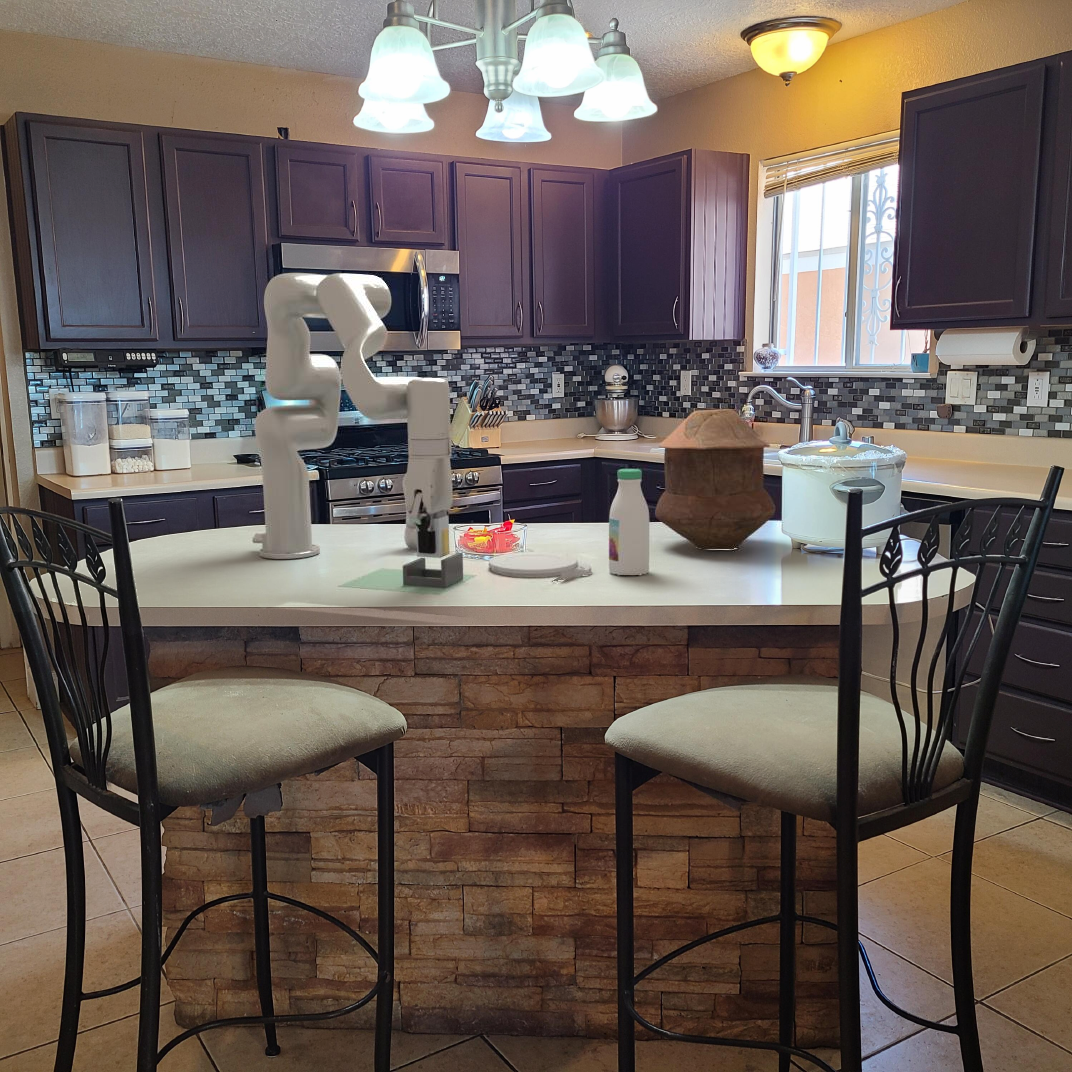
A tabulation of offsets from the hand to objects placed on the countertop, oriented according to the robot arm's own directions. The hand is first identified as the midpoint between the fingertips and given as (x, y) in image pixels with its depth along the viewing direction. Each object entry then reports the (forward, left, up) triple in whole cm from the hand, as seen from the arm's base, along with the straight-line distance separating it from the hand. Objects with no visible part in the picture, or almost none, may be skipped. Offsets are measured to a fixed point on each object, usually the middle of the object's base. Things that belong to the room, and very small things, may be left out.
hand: (433, 549), depth 178 cm
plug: (0, 0, -1) cm, 1 cm away
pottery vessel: (+41, +54, -7) cm, 68 cm away
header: (0, 0, -6) cm, 6 cm away
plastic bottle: (-20, +34, -7) cm, 40 cm away
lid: (+14, +18, -8) cm, 24 cm away
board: (-5, 0, -7) cm, 9 cm away
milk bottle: (+30, +24, -7) cm, 39 cm away
